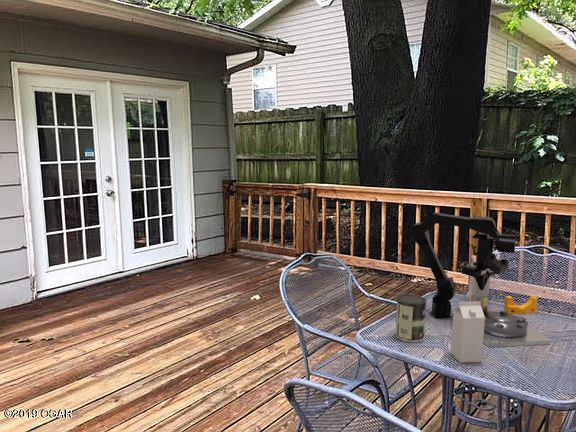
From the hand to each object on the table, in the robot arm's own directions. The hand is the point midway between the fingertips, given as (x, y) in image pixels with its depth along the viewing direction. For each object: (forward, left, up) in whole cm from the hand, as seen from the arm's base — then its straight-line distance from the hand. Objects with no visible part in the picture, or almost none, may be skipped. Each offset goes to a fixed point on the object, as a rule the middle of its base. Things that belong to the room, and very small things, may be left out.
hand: (481, 290), depth 182 cm
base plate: (+3, -10, -13) cm, 17 cm away
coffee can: (-32, -10, -13) cm, 36 cm away
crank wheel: (+3, -10, -11) cm, 15 cm away
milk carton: (-20, -28, -13) cm, 37 cm away
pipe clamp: (+23, +8, -13) cm, 28 cm away
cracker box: (+8, +16, -13) cm, 22 cm away
